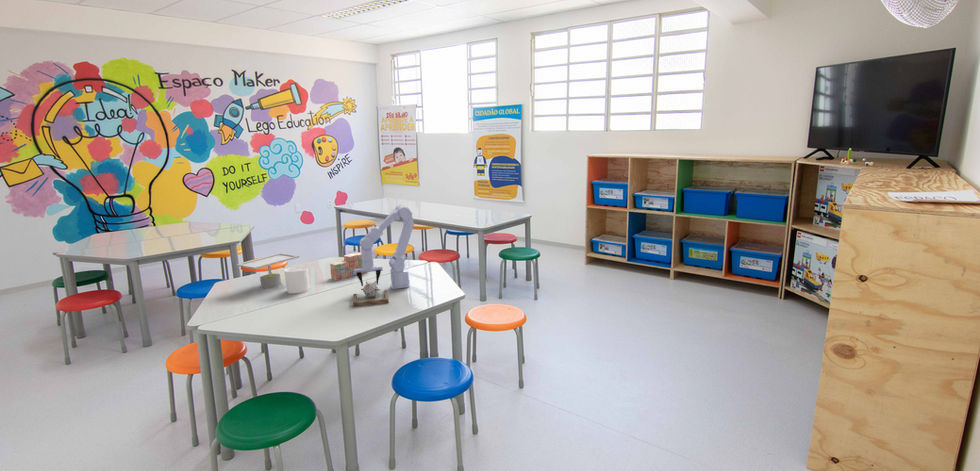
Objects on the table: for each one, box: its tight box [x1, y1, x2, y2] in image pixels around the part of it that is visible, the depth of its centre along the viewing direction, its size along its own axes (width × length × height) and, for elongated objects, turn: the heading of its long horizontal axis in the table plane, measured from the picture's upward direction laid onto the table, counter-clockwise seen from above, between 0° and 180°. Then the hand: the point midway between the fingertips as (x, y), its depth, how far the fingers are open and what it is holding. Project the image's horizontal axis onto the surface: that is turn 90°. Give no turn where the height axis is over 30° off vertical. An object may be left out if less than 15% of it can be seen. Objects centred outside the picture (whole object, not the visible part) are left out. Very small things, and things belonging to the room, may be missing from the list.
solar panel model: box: [236, 252, 300, 289], centre depth 280 cm, size 28×17×15 cm, turn 148°
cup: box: [283, 265, 311, 295], centre depth 270 cm, size 12×12×12 cm
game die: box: [361, 281, 381, 299], centre depth 255 cm, size 9×8×10 cm
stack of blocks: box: [329, 251, 368, 281], centre depth 295 cm, size 21×6×12 cm, turn 134°
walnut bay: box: [352, 289, 390, 308], centre depth 250 cm, size 17×14×2 cm
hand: (369, 285), depth 264 cm, fingers open, 7 cm apart
